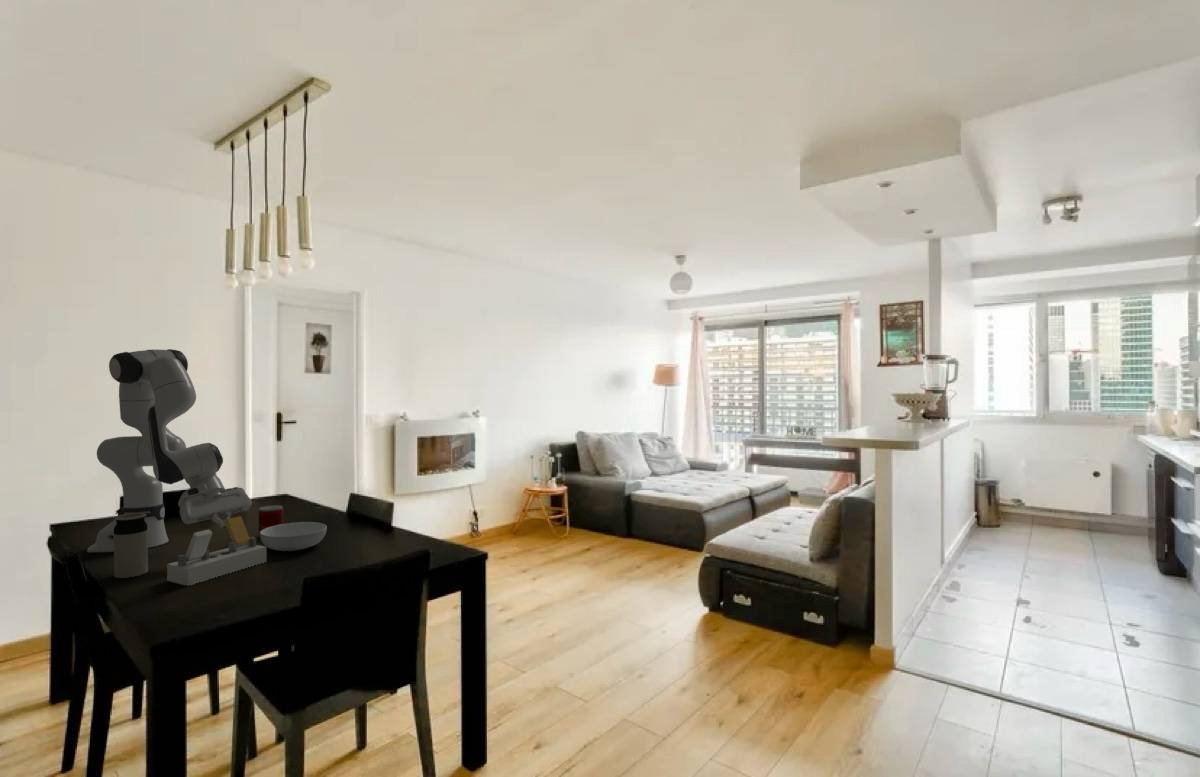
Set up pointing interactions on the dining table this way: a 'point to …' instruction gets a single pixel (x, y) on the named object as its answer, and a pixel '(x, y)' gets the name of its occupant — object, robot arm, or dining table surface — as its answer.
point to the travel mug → (130, 545)
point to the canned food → (270, 516)
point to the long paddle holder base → (215, 563)
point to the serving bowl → (293, 535)
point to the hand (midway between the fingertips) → (226, 525)
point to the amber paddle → (238, 531)
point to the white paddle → (198, 545)
